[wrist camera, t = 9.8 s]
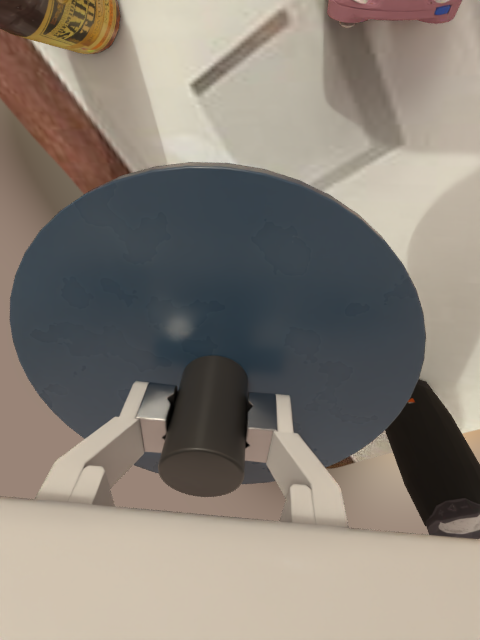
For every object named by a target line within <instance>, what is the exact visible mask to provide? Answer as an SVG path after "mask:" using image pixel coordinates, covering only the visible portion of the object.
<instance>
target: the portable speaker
mask: <svg viewBox="0 0 480 640" xmlns="http://www.w3.org/2000/svg"><path fill="white" fill-rule="evenodd" d="M385 431H386V434H387V437H388V440H389V442H390V445H391V448H392V451H393V453H394V456H395V459H396V462H397V465H398V467H399V470H400V473H401V475H402V478H403V481H404V484H405V486H406V488H407V490H408V492H409V494H410V496H411V498H412V500H413V502H414V504H415V506H416V508H417V510H418V512H419V514H420V516H421V518H422V520H423V522H424V524H425V526H427V529H428V532H429V535H436V536H447V537H458V538H469V539H480V464H479V462H478V461H477V459H476V457H475V456H474V454H473V452H472V450H471V449H470V447H469V445H468V444H467V442H466V440H465V438H464V437H463V435H462V433H461V431H460V430H459V428H458V426H457V424H456V423H455V421H454V419H453V418H452V416H451V414H450V413H449V412H448V410H447V409H446V408H445V406H444V405H443V404H442V402H441V401H440V400H439V398H438V397H437V396H436V394H435V393H434V392H433V391H432V389H431V388H430V386H429V385H428V384H427V382H426V381H422V380H419V379H418V382H417V384H416V386H415V388H414V390H413V393H412V395H411V397H410V399H409V400H408V402H407V403H406V405H405V406H404V408H403V409H402V411H401V412H400V414H399V415H398V416H397V417H396V418H395V420H394V421H393V422H392V423H391V424H390V425H389V426H388V428H387V429H386V430H385Z"/></svg>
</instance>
